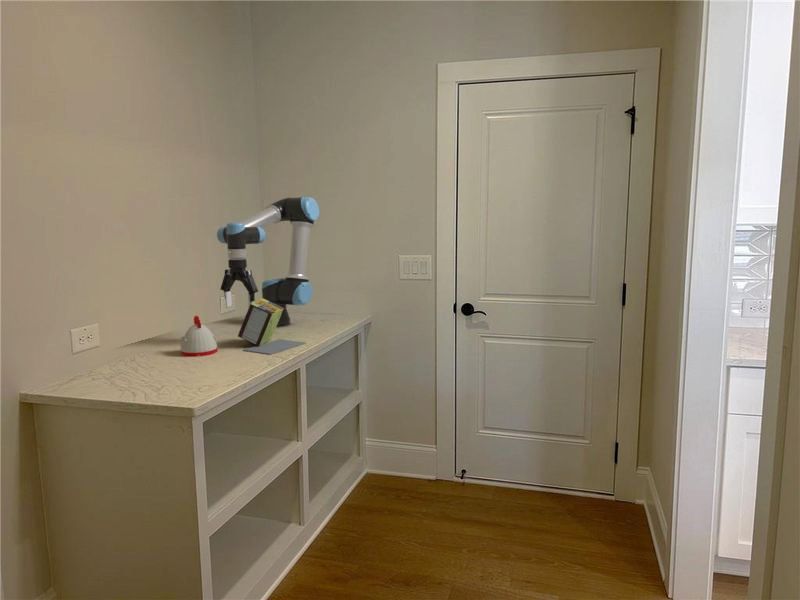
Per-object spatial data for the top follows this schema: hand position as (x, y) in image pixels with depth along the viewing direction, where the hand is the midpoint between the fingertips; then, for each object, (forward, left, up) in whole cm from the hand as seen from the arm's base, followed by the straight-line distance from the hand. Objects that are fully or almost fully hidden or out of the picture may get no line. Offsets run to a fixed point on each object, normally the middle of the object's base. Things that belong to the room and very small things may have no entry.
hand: (240, 307), depth 235 cm
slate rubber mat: (+1, +20, -15) cm, 25 cm away
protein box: (0, +8, -13) cm, 15 cm away
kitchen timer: (+22, -1, -16) cm, 27 cm away
